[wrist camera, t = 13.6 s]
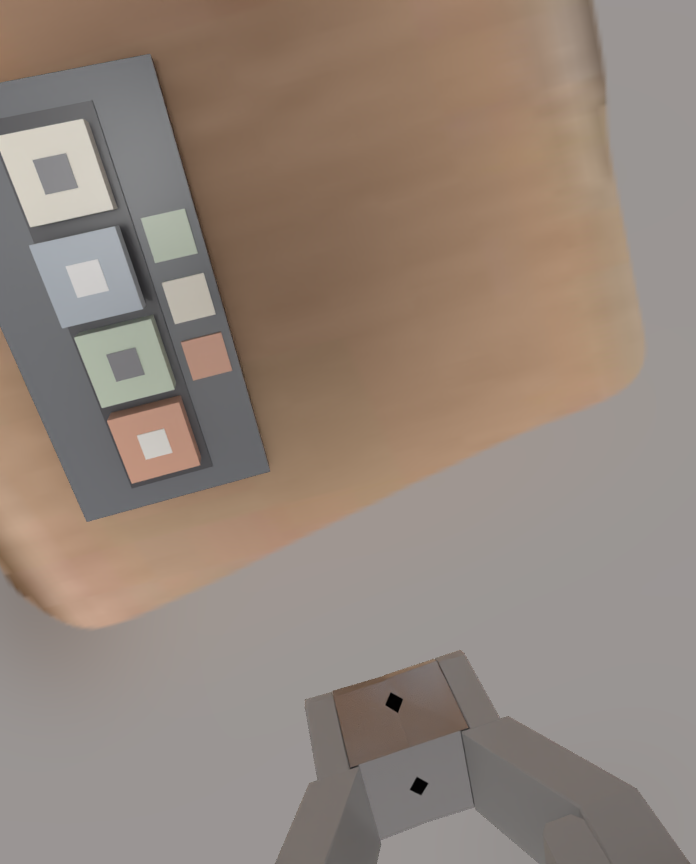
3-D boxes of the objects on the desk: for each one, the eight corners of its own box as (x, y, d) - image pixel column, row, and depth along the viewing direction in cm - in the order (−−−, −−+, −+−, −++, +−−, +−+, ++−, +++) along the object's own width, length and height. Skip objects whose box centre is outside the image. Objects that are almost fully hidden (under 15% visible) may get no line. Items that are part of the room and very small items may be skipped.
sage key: (79, 332, 34) (73, 337, 32) (153, 314, 34) (150, 319, 33) (105, 400, 35) (101, 408, 34) (176, 382, 36) (174, 390, 34)
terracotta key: (110, 412, 36) (106, 421, 34) (180, 395, 36) (178, 402, 35) (134, 474, 37) (131, 484, 36) (201, 456, 38) (200, 465, 36)
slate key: (36, 243, 30) (27, 245, 29) (118, 225, 31) (114, 226, 29) (68, 323, 32) (61, 328, 31) (145, 304, 33) (142, 309, 31)
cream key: (3, 139, 30) (-7, 136, 28) (88, 122, 30) (82, 118, 29) (37, 226, 31) (29, 227, 30) (117, 208, 32) (113, 209, 30)
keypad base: (-88, 105, 30) (-103, 100, 28) (152, 59, 31) (149, 52, 30) (90, 512, 39) (86, 524, 38) (268, 464, 40) (270, 473, 39)
